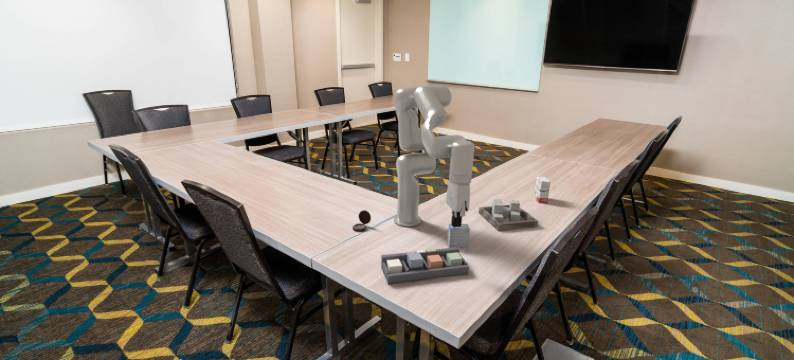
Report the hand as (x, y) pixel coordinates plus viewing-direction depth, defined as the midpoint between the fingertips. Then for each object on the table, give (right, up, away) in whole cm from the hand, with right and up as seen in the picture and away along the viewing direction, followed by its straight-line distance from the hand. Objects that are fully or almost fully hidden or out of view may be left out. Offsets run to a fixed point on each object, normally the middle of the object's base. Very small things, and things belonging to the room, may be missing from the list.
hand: (456, 225), depth 142 cm
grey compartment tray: (-11, -16, +3) cm, 20 cm away
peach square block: (-7, -15, +3) cm, 17 cm away
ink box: (+55, +6, +70) cm, 89 cm away
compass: (-36, -5, +34) cm, 50 cm away
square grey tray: (+30, -2, +45) cm, 55 cm away
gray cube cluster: (+30, -3, +46) cm, 55 cm away
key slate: (-15, -14, +1) cm, 20 cm away
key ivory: (-22, -16, -1) cm, 27 cm away
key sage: (0, -14, +5) cm, 15 cm away
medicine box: (+4, -10, +21) cm, 24 cm away
